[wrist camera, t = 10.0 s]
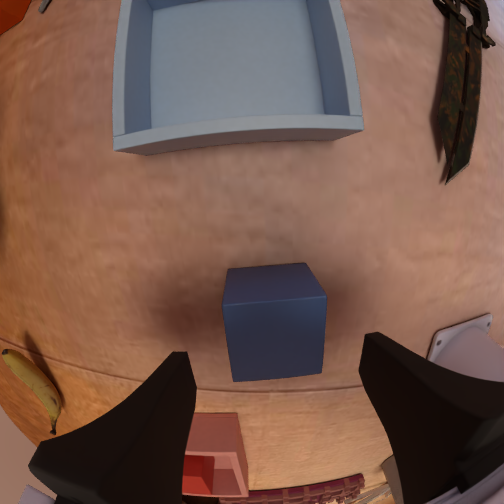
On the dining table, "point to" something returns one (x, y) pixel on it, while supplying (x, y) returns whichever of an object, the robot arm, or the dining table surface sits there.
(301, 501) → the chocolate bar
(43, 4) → the knife
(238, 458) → the pink bin
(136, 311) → the dining table surface
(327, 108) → the blue bin
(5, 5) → the tape dispenser
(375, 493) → the crossbow
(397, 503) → the planter
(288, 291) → the blue block
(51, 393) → the banana
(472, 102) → the knife
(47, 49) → the dining table surface
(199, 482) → the red block
